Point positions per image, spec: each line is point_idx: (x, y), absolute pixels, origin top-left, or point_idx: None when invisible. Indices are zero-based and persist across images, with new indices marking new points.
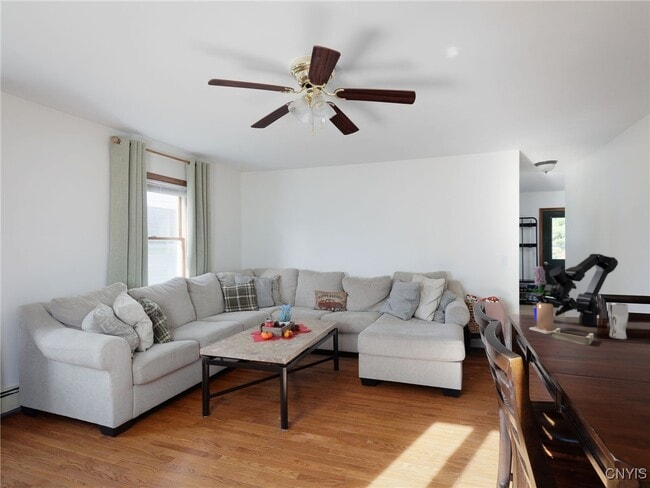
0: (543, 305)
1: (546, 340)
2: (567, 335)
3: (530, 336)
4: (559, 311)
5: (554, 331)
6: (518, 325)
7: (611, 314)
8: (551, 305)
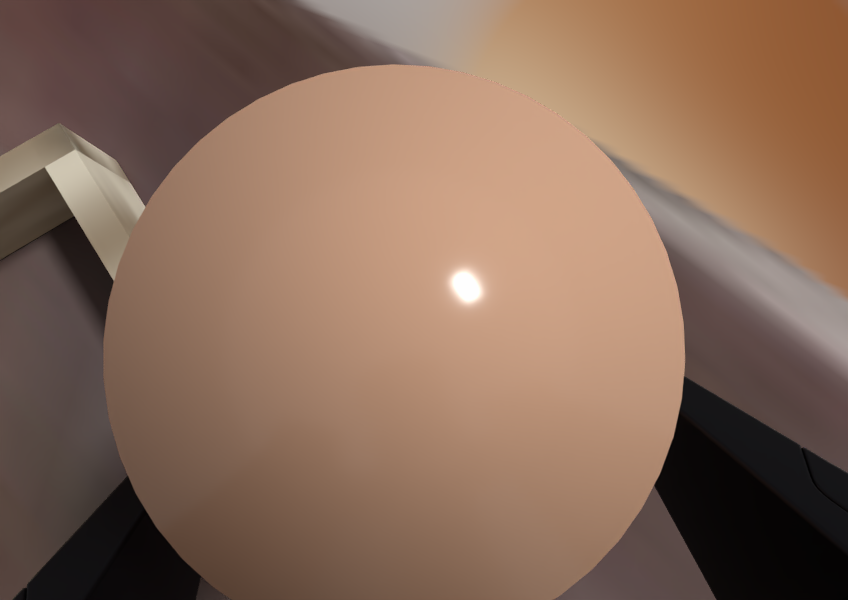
0: (232, 118)
1: (87, 74)
2: None
3: (245, 33)
4: (97, 536)
5: (71, 179)
6: (669, 227)
7: None
8: (111, 384)
